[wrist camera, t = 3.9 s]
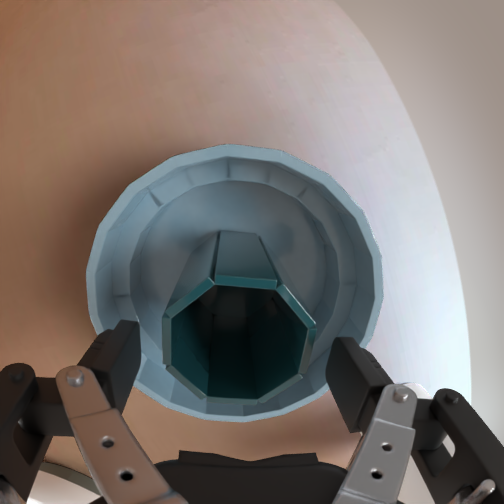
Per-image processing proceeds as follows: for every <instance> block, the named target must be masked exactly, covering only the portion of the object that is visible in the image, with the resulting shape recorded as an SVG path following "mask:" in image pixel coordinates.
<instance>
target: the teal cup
mask: <svg viewBox="0 0 504 504" xmlns="http://www.w3.org/2000/svg"><path fill="white" fill-rule="evenodd" d="M315 324H316V322H315V320H314V319H313V317H312V315H311V313H310V312H309V310H308V308H307V306H306V304H305V303H304V301H303V299H302V297H301V296H300V294H299V292H298V290H297V289H296V287H295V285H294V283H293V282H292V280H291V278H290V276H289V275H288V273H287V271H286V270H285V268H284V266H283V264H282V263H281V261H280V260H279V258H278V257H277V256H276V255H275V253H274V252H273V251H272V250H271V248H270V247H269V246H268V245H267V243H266V242H265V241H264V240H263V238H262V237H261V236H257V234H256V233H248V232H238V231H228V230H221V234H220V233H219V232H218V231H217V232H215V233H214V234H213V235H212V236H211V237H209V238H208V239H207V240H206V241H204V242H203V243H202V244H201V245H200V246H198V247H197V248H196V249H195V250H194V251H192V252H191V254H190V256H189V258H188V260H187V262H186V264H185V266H184V268H183V271H182V273H181V275H180V277H179V279H178V282H177V284H176V286H175V288H174V291H173V293H172V295H171V297H170V300H169V302H168V304H167V306H166V309H165V311H164V313H163V316H162V363H163V364H164V365H166V368H165V369H166V370H167V371H168V372H169V373H170V374H171V375H172V376H173V377H175V378H176V379H177V380H178V381H179V382H180V383H181V384H183V385H184V386H185V387H186V388H187V389H189V390H190V391H191V392H192V393H193V394H194V395H196V396H197V397H198V398H199V399H201V400H203V399H204V398H206V397H207V400H206V401H207V402H210V403H223V404H241V405H257V401H259V402H261V403H264V402H266V401H267V400H269V399H271V398H272V397H274V396H276V395H277V394H279V393H280V392H282V391H284V390H285V389H287V388H288V387H290V386H291V385H293V384H295V383H296V382H298V381H299V380H301V379H302V378H303V376H302V374H306V373H307V369H308V365H309V361H310V357H311V353H312V349H313V345H314V341H315V337H316V333H317V328H316V326H315Z"/></svg>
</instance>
